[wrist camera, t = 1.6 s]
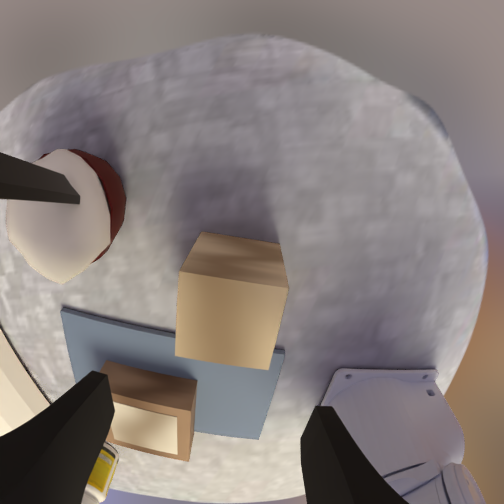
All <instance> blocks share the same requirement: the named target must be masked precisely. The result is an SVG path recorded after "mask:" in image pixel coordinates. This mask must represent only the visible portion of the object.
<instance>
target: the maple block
mask: <svg viewBox="0 0 504 504" xmlns="http://www.w3.org/2000/svg"><path fill="white" fill-rule="evenodd" d="M288 291H289V286H288V281H287V276H286V271H285V266H284V262H283V257H282V252H281V247H280V244H278V243H272V242H265V241H259V240H253V239H247V238H240V237H234V236H228V235H221V234H215V233H208V232H201V233H200V235H199V237H198V239H197V240H196V242H195V244H194V246H193V247H192V249H191V251H190V253H189V255H188V256H187V258H186V260H185V262H184V263H183V265H182V267H181V269H180V271H179V281H178V297H177V315H176V338H175V356H178V357H184V358H189V359H195V360H200V361H206V362H212V363H219V364H225V365H232V366H239V367H247V368H254V369H263V370H269V366H270V362H271V358H272V354H273V351H274V347H275V343H276V339H277V335H278V331H279V327H280V323H281V319H282V315H283V311H284V307H285V303H286V299H287V295H288Z"/></svg>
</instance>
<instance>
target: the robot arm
mask: <svg viewBox="0 0 504 504" xmlns="http://www.w3.org/2000/svg"><path fill="white" fill-rule="evenodd" d="M348 374H350V375H348ZM346 375H348V376H346ZM438 375H439V373H438V371H437V370H371V369H346V368H342V369H338V370H337V371H336V372H335V374H334V376H333V378H332V381H331V383H330V385H329V388H328V390H327V392H326V394H325V396H324V399H323V401H322V403H321V405H320V406H315V408H314V410H313V413H312V415H311V417H310V419H309V421H308V424H307V426H306V428H305V430H304V432H303V434H302V436H301V439H300V440H301V466H302V473H303V480H304V486H305V493H306V499H307V504H486V503H485V500H484V498H483V496H482V493H481V491H480V489H479V487H478V485H477V483H476V482H475V480H474V478H473V476H472V475H471V473H470V472H469V471H468V469H467V468H466V467H465V466H464V465H462V464H461V462H462V459H463V455H464V445H465V443H464V435H463V431H462V429H461V426H460V424H459V423H458V421H457V419H456V417H455V415H454V414H453V412H452V410H451V408H450V407H449V405H448V403H447V401H446V400H445V398H444V396H443V395H442V393H441V391H440V389H439V388H438V386H437V384H436V383H435V381H436V379H437V377H438ZM114 413H115V408H114V403H113V399H112V394H111V389H110V384H109V379H108V375H107V374H104V373H100V372H97V371H93V370H92V371H91V372H89V373H88V374H87V375H86V376H85V377H83V378H82V379H81V380H80V381H79V382H78V383H76V384H75V385H74V386H73V387H72V388H71V389H69V390H68V391H67V392H66V393H65V394H63V395H62V396H61V397H60V398H58V399H57V400H56V401H55V402H53V403H52V404H51V405H50V406H48V407H47V408H46V409H44V410H43V411H41V412H40V413H39V414H37V415H36V416H34V417H33V418H32V419H30V420H29V421H27V422H26V423H24V424H22V425H21V426H19V427H17V428H16V429H14V430H12V431H10V432H8V433H6V434H4V435H2V436H0V504H81V503H82V499H83V495H84V491H85V488H86V485H87V482H88V479H89V477H90V475H91V472H92V470H93V468H94V465H95V463H96V461H97V458H98V456H99V454H100V452H101V449H102V447H103V445H104V443H105V440H106V438H107V436H108V433H109V430H110V427H111V424H112V420H113V417H114Z"/></svg>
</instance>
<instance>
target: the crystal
mask: <svg viewBox="0 0 504 504" xmlns="http://www.w3.org/2000/svg"><path fill="white" fill-rule="evenodd" d="M48 406H50V404H49V403H48V401H47V400H46V399H45V397H44V396H43V395H42V393H41V392H40V391H39V389H38V388H37V386H36V385H35V384H34V382H33V381H32V379H31V378H30V376H29V375H28V373H27V372H26V370H25V369H24V367H23V366H22V364H21V363H20V361H19V360H18V358H17V356H16V355H15V353H14V351H13V350H12V348H11V346H10V345H9V343H8V341H7V340H6V338H5V336H4V334H3V333H2V331H1V329H0V436H2V435H4V434H6V433H8V432H10V431H12V430H14V429H16V428H17V427H19V426H21V425H22V424H24V423H26V422H27V421H29V420H30V419H32V418H33V417H34V416H36V415H37V414H39V413H40V412H41V411H43V410H44V409H46V408H47V407H48Z"/></svg>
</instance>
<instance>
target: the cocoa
mask: <svg viewBox="0 0 504 504" xmlns="http://www.w3.org/2000/svg"><path fill="white" fill-rule="evenodd" d="M0 199H7V210H6V227H7V232H8V237H9V241H10V242H11V243H12V244H13V245H14V246H15V247H16V248H17V249H18V250H19V251H20V252H21V253H22V255H23V257H24V258H25V260H26V261H27V263H28V265H30V266H31V267H32V268H33V269H35V270H36V271H37V272H39V273H40V274H42V275H43V276H45V277H46V278H48V279H49V280H51V281H54V282H57V283H60V284H64V283H66V282H67V281H69V280H70V279H72V278H73V277H75V276H76V275H78V274H79V273H81V272H82V271H84V270H85V269H86V268H87V267H88V266H89V265H90V264H91V263H93V262H95V261H96V260H98V259H100V258H101V257H102V256H103V255H104V254H105V253H106V252H107V251H108V249H109V247H110V245H111V244H112V242H113V240H114V238H115V236H116V235H117V233H118V231H119V229H120V227H121V226H122V224H123V221H124V215H125V205H126V196H125V193H124V189H123V186H122V183H121V179H120V177H119V175H118V174H117V173H116V172H115V171H114V170H113V168H112V167H111V166H110V165H109V164H108V162H107V161H105V160H103V159H101V158H98V157H96V156H93V155H91V154H88V153H86V152H83V151H80V150H77V149H70V150H66V149H56V150H55V151H53V152H52V153H47V154H44V155H43V156H42V157H41V158H40V159H39V160H37V161H35V162H32V163H29V162H26V161H24V160H21V159H18V158H15V157H12V156H9V155H6V154H3V153H1V152H0Z"/></svg>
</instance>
